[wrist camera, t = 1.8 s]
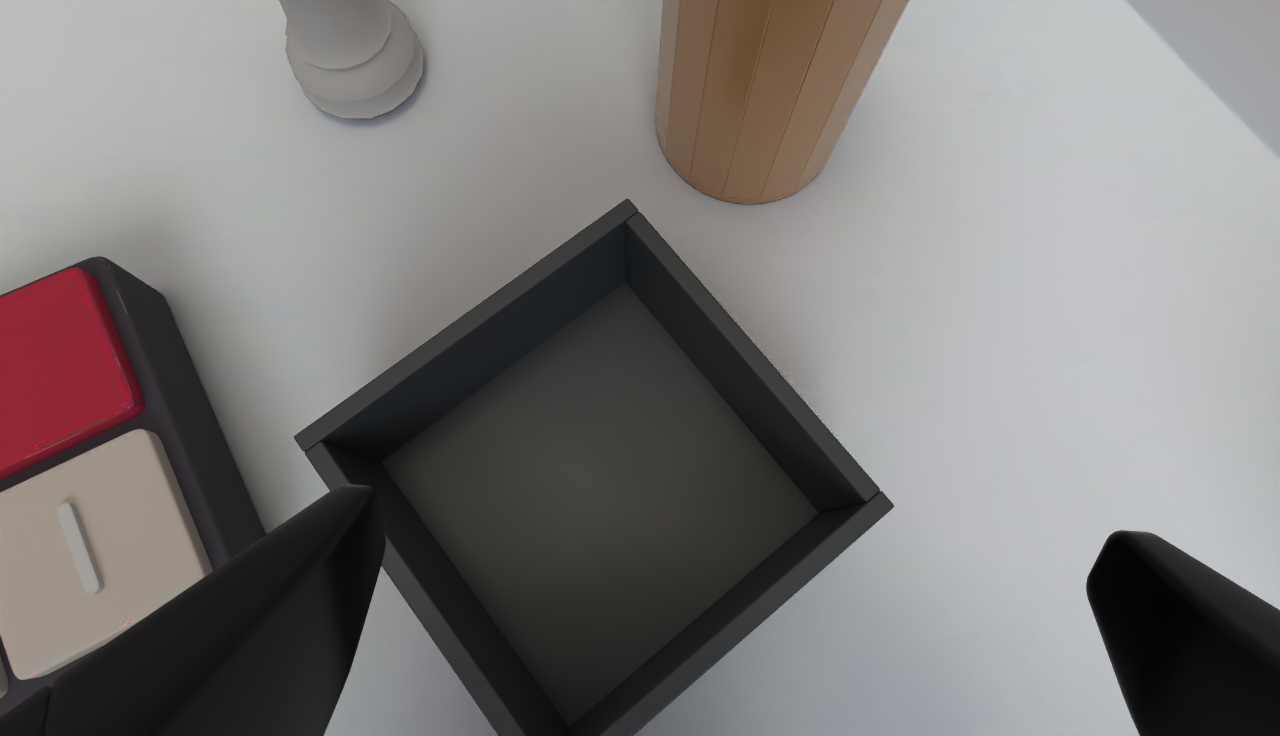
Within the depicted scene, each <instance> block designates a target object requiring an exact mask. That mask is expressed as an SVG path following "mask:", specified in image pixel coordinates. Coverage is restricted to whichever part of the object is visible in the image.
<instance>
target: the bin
mask: <svg viewBox="0 0 1280 736" xmlns="http://www.w3.org/2000/svg"><path fill="white" fill-rule="evenodd" d="M294 439H295V440H296V442H297V443H298V445H299V446H300V448H301V449H302V451H304V452H305V455H306V456H307V458H308V459H309V461H310V462H311V464H312V465H313V467H314V468H315V469H316V471H317V472H318V474H319V475H320V477H321V478H322V480H323V481H324V483H325V484H326V485H327V487H328V488H329V490H330V491H331V490H333V489H334V488H336V487H338V486H340V485H344V484H351V485H368V486H372V487H374V488H375V489H376V490H377V492H378V494H379V499H380V504H381V510H382V516H383V522H384V528H385V534H386V547H385V553H384V557H383V561H382V564H381V565H382V567H383V568H384V570H385V571H386V573H387V574H388V576H389V577H390V579H391V580H392V581H393V583H394V584H395V586H396V587H397V589H398V590H399V592H400V593H401V595H402V596H403V597H404V599H405V600H406V602H407V603H408V605H409V606H410V608H411V609H412V610H413V612H414V613H415V615H416V616H417V618H418V619H419V621H420V622H421V624H422V625H423V626H424V628H425V629H426V631H427V632H428V634H429V635H430V637H431V638H432V640H433V641H434V642H435V644H436V645H437V647H438V648H439V650H440V651H441V653H442V654H443V656H444V657H445V658H446V660H447V661H448V663H449V664H450V666H451V667H452V669H453V670H454V672H455V673H456V674H457V676H458V677H459V679H460V680H461V682H462V683H463V685H464V686H465V688H466V689H467V690H468V692H469V693H470V695H471V696H472V698H473V699H474V701H475V702H476V704H477V705H478V706H479V708H480V709H481V711H482V712H483V714H484V715H485V717H486V718H487V720H488V721H489V722H490V724H491V725H492V727H493V728H494V730H495V731H496V733H497V734H498V736H633V735H635V734H636V733H637V732H638V731H639V730H640V729H641V728H643V727H644V726H645V725H646V724H647V723H648V722H649V721H651V720H652V719H653V718H654V717H655V716H656V715H657V714H659V713H660V712H661V711H662V710H663V709H664V708H665V707H667V706H668V705H669V704H670V703H671V702H672V701H673V700H674V699H676V698H677V697H678V696H679V695H680V694H681V693H682V692H684V691H685V690H686V689H687V688H688V687H689V686H690V685H692V684H693V683H694V682H695V681H696V680H697V679H698V678H700V677H701V676H702V675H703V674H704V673H705V672H706V671H708V670H709V669H710V668H711V667H712V666H713V665H714V664H716V663H717V662H718V661H719V660H720V659H721V658H722V657H724V656H725V655H726V654H727V653H728V652H729V651H730V650H732V649H733V648H734V647H735V646H736V645H737V644H738V643H740V642H741V641H742V640H743V639H744V638H745V637H746V636H748V635H749V634H750V633H751V632H752V631H753V630H754V629H755V628H757V627H758V626H759V625H760V624H761V623H762V622H763V621H765V620H766V619H767V618H768V617H769V616H770V615H771V614H773V613H774V612H775V611H776V610H777V609H778V608H779V607H781V606H782V605H783V604H784V603H785V602H786V601H787V600H789V599H790V598H791V597H792V596H793V595H794V594H795V593H797V592H798V591H799V590H800V589H801V588H802V587H803V586H805V585H806V584H807V583H808V582H809V581H810V580H811V579H813V578H814V577H815V576H816V575H817V574H818V573H819V572H821V571H822V570H823V569H824V568H825V567H826V566H827V565H829V564H830V563H831V562H832V561H833V560H834V559H835V558H837V557H838V556H839V555H840V554H841V553H842V552H843V551H844V550H846V549H847V548H848V547H849V546H850V545H851V544H852V543H854V542H855V541H856V540H857V539H858V538H859V537H860V536H862V535H863V534H864V533H865V532H866V531H867V530H868V529H870V528H871V527H872V526H873V525H874V524H875V523H876V522H878V521H879V520H880V519H881V518H882V517H883V516H884V515H886V514H887V513H888V512H889V511H890V510H891V509H892V508H893V507H894V505H893V503H892V502H891V501H890V500H889V499H888V498H887V497H886V495H885V494H884V493H883V492H882V491H880V489H879V487H878V486H877V485H876V484H875V483H874V482H873V480H872V479H871V478H870V477H869V476H868V475H867V473H866V472H865V471H864V470H863V469H862V468H861V467H860V465H859V464H858V463H857V462H856V461H855V460H854V458H853V457H852V456H851V455H850V454H849V453H848V452H847V450H846V449H845V448H844V447H843V446H842V445H841V443H840V442H839V441H838V440H837V439H836V438H835V437H834V435H833V434H832V433H831V432H830V431H829V430H828V428H827V427H826V426H825V425H824V424H823V423H822V422H821V420H820V419H819V418H818V417H817V416H816V415H815V413H814V412H813V411H812V410H811V409H810V408H809V406H808V405H807V404H806V403H805V402H804V401H803V400H802V398H801V397H800V396H799V395H798V394H797V393H796V391H795V390H794V389H793V388H792V387H791V386H790V385H789V383H788V382H787V381H786V380H785V379H784V378H783V376H782V375H781V374H780V373H779V372H778V371H777V370H776V368H775V367H774V366H773V365H772V364H771V363H770V361H769V360H768V359H767V358H766V357H765V356H764V355H763V353H762V352H761V351H760V350H759V349H758V348H757V346H756V345H755V344H754V343H753V342H752V341H751V340H750V338H749V337H748V336H747V335H746V334H745V333H744V331H743V330H742V329H741V328H740V327H739V326H738V325H737V323H736V322H735V321H734V320H733V319H732V318H731V316H730V315H729V314H728V313H727V312H726V311H725V310H724V308H723V307H722V306H721V305H720V304H719V303H718V301H717V300H716V299H715V298H714V297H713V296H712V294H711V293H710V292H709V291H708V290H707V289H706V288H705V286H704V285H703V284H702V283H701V282H700V281H699V279H698V278H697V277H696V276H695V275H694V274H693V273H692V271H691V270H690V269H689V268H688V267H687V266H686V264H685V263H684V262H683V261H682V260H681V259H680V258H679V256H678V255H677V254H676V253H675V252H674V251H673V249H672V248H671V247H670V246H669V245H668V244H667V243H666V241H665V240H664V239H663V238H662V237H661V236H660V234H659V233H658V232H657V231H656V230H655V229H654V228H653V226H652V225H651V224H650V223H649V222H648V221H647V219H646V218H645V217H644V216H643V215H642V214H641V213H640V212H638V209H637V208H636V207H635V206H634V204H633V203H632V202H631V201H630V200H629V199H626V200H624V201H623V202H621V203H620V204H619V205H617V206H616V207H614V208H613V209H612V210H610V211H609V212H607V213H606V214H605V215H603V216H602V217H600V218H599V219H598V220H596V221H595V222H593V223H592V224H591V225H589V226H588V227H586V228H585V229H584V230H582V231H581V232H579V233H578V234H577V235H575V236H574V237H572V238H571V239H570V240H568V241H567V242H565V243H564V244H563V245H561V246H560V247H558V248H557V249H556V250H554V251H553V252H551V253H550V254H549V255H547V256H546V257H544V258H543V259H542V260H540V261H539V262H537V263H536V264H535V265H533V266H532V267H530V268H529V269H528V270H526V271H525V272H523V273H522V274H521V275H519V276H518V277H516V278H515V279H514V280H512V281H511V282H509V283H508V284H507V285H505V286H504V287H502V288H501V289H500V290H498V291H497V292H495V293H494V294H493V295H491V296H490V297H488V298H487V299H486V300H484V301H483V302H481V303H480V304H479V305H477V306H476V307H474V308H473V309H472V310H470V311H469V312H467V313H466V314H465V315H463V316H462V317H460V318H459V319H458V320H456V321H455V322H453V323H452V324H451V325H449V326H448V327H446V328H445V329H444V330H442V331H441V332H439V333H438V334H437V335H435V336H434V337H432V338H431V339H430V340H428V341H427V342H425V343H424V344H423V345H421V346H420V347H418V348H417V349H416V350H414V351H413V352H411V353H410V354H409V355H407V356H406V357H404V358H403V359H402V360H400V361H399V362H397V363H396V364H395V365H393V366H392V367H390V368H389V369H388V370H386V371H385V372H383V373H382V374H381V375H379V376H378V377H376V378H375V379H374V380H372V381H371V382H370V383H368V384H367V385H365V386H364V387H363V388H361V389H360V390H358V391H357V392H356V393H354V394H353V395H351V396H350V397H349V398H347V399H346V400H344V401H343V402H342V403H340V404H339V405H337V406H336V407H335V408H333V409H332V410H330V411H329V412H328V413H326V414H325V415H323V416H322V417H321V418H319V419H318V420H316V421H315V422H314V423H312V424H311V425H309V426H308V427H307V428H305V429H304V430H302V431H301V432H300V433H298V434H297V435H295V436H294Z"/></svg>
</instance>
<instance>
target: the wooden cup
mask: <svg viewBox="0 0 1280 736" xmlns="http://www.w3.org/2000/svg"><path fill="white" fill-rule="evenodd" d="M909 1H910V0H663V9H662V24H661V39H660V55H659V70H658V85H657V101H656V116H655V121H656V122H655V123H656V127H657V135H658V139H659V143H660V145H661V148H662V150H663V153H664V155H665V156H666V158H667V160H668V161H669V163H670V164H671V166H672V167H673V168H674V170H675V171H676V172H677V173H678V174H679V175H680V176H681V177H682V178H683V179H684V180H685V181H686V182H688V183H689V184H690V185H692V186H693V187H694V188H696V189H698V190H700V191H701V192H703V193H705V194H707V195H709V196H712V197H714V198H717V199H720V200H724V201H727V202H733V203H740V204H758V203H766V202H771V201H776V200H779V199H782V198H785V197H787V196H789V195H791V194H793V193H796V192H797V191H799V190H800V189H802V188H803V187H805V186H806V185H807V184H808V183H810V182H811V181H812V180H813V179H814V178H815V177H816V176H817V175H818V174H819V172H820V171H821V170H822V169H823V167H824V165H825V164H826V162H827V160H828V158H829V156H830V154H831V153H832V151H833V149H834V147H835V145H836V143H837V141H838V139H839V138H840V136H841V134H842V132H843V130H844V128H845V126H846V124H847V122H848V120H849V118H850V116H851V114H852V112H853V110H854V108H855V106H856V104H857V102H858V100H859V98H860V96H861V94H862V93H863V91H864V89H865V87H866V85H867V83H868V81H869V79H870V77H871V75H872V73H873V71H874V69H875V67H876V65H877V63H878V61H879V59H880V57H881V55H882V53H883V51H884V49H885V47H886V46H887V44H888V42H889V40H890V38H891V36H892V34H893V32H894V30H895V28H896V26H897V24H898V22H899V20H900V18H901V16H902V14H903V12H904V10H905V8H906V6H907V4H908V2H909Z"/></svg>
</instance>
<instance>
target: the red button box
mask: <svg viewBox="0 0 1280 736" xmlns="http://www.w3.org/2000/svg"><path fill="white" fill-rule="evenodd" d="M264 536H265V533H264V531H263V529H262V526H261V524H260V522H259V519H258V517H257V515H256V512H255V510H254V507H253V505H252V503H251V500H250V498H249V496H248V493H247V491H246V489H245V486H244V484H243V482H242V479H241V477H240V474H239V472H238V470H237V467H236V465H235V463H234V460H233V458H232V456H231V453H230V451H229V449H228V446H227V444H226V441H225V439H224V437H223V434H222V432H221V430H220V427H219V425H218V423H217V420H216V418H215V416H214V413H213V411H212V408H211V406H210V404H209V401H208V399H207V397H206V394H205V392H204V390H203V387H202V385H201V383H200V380H199V378H198V376H197V373H196V371H195V368H194V366H193V364H192V361H191V359H190V357H189V354H188V352H187V350H186V347H185V345H184V343H183V340H182V338H181V335H180V333H179V331H178V328H177V326H176V324H175V321H174V319H173V317H172V314H171V312H170V310H169V307H168V305H167V303H166V301H165V299H164V297H163V295H162V294H160V293H159V292H158V291H156V290H155V289H153V288H152V287H150V286H149V285H147V284H146V283H144V282H143V281H141V280H140V279H138V278H136V277H135V276H133V275H132V274H130V273H129V272H127V271H126V270H124V269H123V268H121V267H120V266H118V265H116V264H115V263H113V262H112V261H110V260H108V259H106V258H104V257H92V258H89V259H86V260H84V261H81V262H79V263H76V264H74V265H72V266H69V267H67V268H65V269H62V270H60V271H57V272H55V273H53V274H50V275H48V276H46V277H43V278H41V279H38V280H36V281H34V282H31V283H29V284H27V285H24V286H22V287H20V288H17V289H15V290H12V291H10V292H8V293H5V294H3V295H1V296H0V715H2V714H3V713H5V712H6V711H8V710H9V709H11V708H12V707H13V706H15V705H16V704H18V703H19V702H21V701H22V700H24V699H25V698H27V697H28V696H30V695H31V694H33V693H34V692H36V691H37V690H38V689H40V688H41V687H43V686H45V685H50V686H52V683H53V681H54V679H55V678H57V677H58V676H59V675H61V674H62V673H64V672H65V671H67V670H68V669H70V668H71V667H73V666H74V665H76V664H77V663H79V662H80V661H82V660H83V659H84V658H86V657H87V656H89V655H90V654H92V653H93V652H95V651H96V650H98V649H99V648H101V647H102V646H104V645H105V644H107V643H108V642H109V641H111V640H112V639H114V638H115V637H117V636H118V635H120V634H121V633H123V632H124V631H126V630H127V629H129V628H130V627H132V626H133V625H134V624H136V623H137V622H139V621H140V620H142V619H143V618H145V617H146V616H148V615H149V614H151V613H152V612H154V611H155V610H157V609H158V608H159V607H161V606H162V605H164V604H165V603H167V602H168V601H170V600H171V599H173V598H174V597H176V596H177V595H179V594H180V593H182V592H183V591H184V590H186V589H187V588H189V587H190V586H192V585H193V584H195V583H196V582H198V581H199V580H201V579H202V578H204V577H205V576H206V575H208V574H209V573H211V572H212V571H214V570H215V569H217V568H218V567H220V566H221V565H223V564H224V563H226V562H227V561H229V560H230V559H231V558H233V557H234V556H236V555H237V554H239V553H240V552H242V551H243V550H245V549H246V548H248V547H249V546H251V545H252V544H254V543H255V542H256V541H258V540H259V539H261V538H262V537H264Z"/></svg>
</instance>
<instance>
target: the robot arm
mask: <svg viewBox="0 0 1280 736" xmlns="http://www.w3.org/2000/svg"><path fill="white" fill-rule="evenodd" d="M385 547H386V534H385V528H384V522H383V516H382V510H381V504H380V499H379V494H378V492H377V490H376V489H375V488H374V487H372V486H368V485H351V484H344V485H340V486H338V487H336V488H334V489H333V490H331V491H330V492H329V493H327V494H326V495H324V496H323V497H321V498H320V499H318V500H317V501H315V502H314V503H312V504H311V505H309V506H308V507H306V508H305V509H304V510H302V511H301V512H299V513H298V514H296V515H295V516H293V517H292V518H290V519H289V520H287V521H286V522H284V523H283V524H281V525H280V526H279V527H277V528H276V529H274V530H273V531H271V532H270V533H268V534H267V535H265V536H264V537H262V538H261V539H259V540H258V541H256V542H255V543H254V544H252V545H251V546H249V547H248V548H246V549H245V550H243V551H242V552H240V553H239V554H237V555H236V556H234V557H233V558H231V559H230V560H229V561H227V562H226V563H224V564H223V565H221V566H220V567H218V568H217V569H215V570H214V571H212V572H211V573H209V574H208V575H206V576H205V577H204V578H202V579H201V580H199V581H198V582H196V583H195V584H193V585H192V586H190V587H189V588H187V589H186V590H184V591H183V592H182V593H180V594H179V595H177V596H176V597H174V598H173V599H171V600H170V601H168V602H167V603H165V604H164V605H162V606H161V607H159V608H158V609H157V610H155V611H154V612H152V613H151V614H149V615H148V616H146V617H145V618H143V619H142V620H140V621H139V622H137V623H136V624H134V625H133V626H132V627H130V628H129V629H127V630H126V631H124V632H123V633H121V634H120V635H118V636H117V637H115V638H114V639H112V640H111V641H109V642H108V643H107V644H105V645H104V646H102V647H101V648H99V649H98V650H96V651H95V652H93V653H92V654H90V655H89V656H87V657H86V658H84V659H83V660H82V661H80V662H79V663H77V664H76V665H74V666H73V667H71V668H70V669H68V670H67V671H65V672H64V673H62V674H61V675H59V676H58V677H57V678H55V679H54V681H53V683H52V686H50V685H45V686H43V687H41V688H40V689H38V690H37V691H36V692H34V693H33V694H31V695H30V696H28V697H27V698H25V699H24V700H22V701H21V702H19V703H18V704H16V705H15V706H13V707H12V708H11V709H9V710H8V711H6V712H5V713H3V714H2V715H0V736H324V733H325V731H326V729H327V726H328V724H329V721H330V719H331V717H332V714H333V712H334V709H335V707H336V705H337V702H338V700H339V697H340V695H341V693H342V690H343V688H344V685H345V682H346V680H347V677H348V675H349V672H350V669H351V666H352V663H353V660H354V657H355V653H356V650H357V647H358V643H359V640H360V636H361V633H362V630H363V626H364V623H365V619H366V616H367V612H368V609H369V605H370V602H371V599H372V595H373V592H374V588H375V585H376V581H377V578H378V574H379V571H380V568H381V564H382V561H383V557H384V553H385ZM1086 590H1087V596H1088V600H1089V603H1090V605H1091V608H1092V611H1093V614H1094V616H1095V619H1096V622H1097V625H1098V627H1099V630H1100V633H1101V636H1102V639H1103V641H1104V644H1105V647H1106V650H1107V652H1108V655H1109V658H1110V661H1111V663H1112V666H1113V669H1114V672H1115V675H1116V677H1117V680H1118V683H1119V686H1120V688H1121V691H1122V694H1123V697H1124V699H1125V702H1126V704H1127V707H1128V709H1129V712H1130V714H1131V717H1132V719H1133V721H1134V724H1135V726H1136V728H1137V730H1138V733H1139V735H1140V736H1280V610H1278V609H1277V608H1275V607H1274V606H1272V605H1270V604H1269V603H1267V602H1265V601H1264V600H1262V599H1260V598H1259V597H1257V596H1255V595H1254V594H1252V593H1251V592H1249V591H1247V590H1246V589H1244V588H1242V587H1241V586H1239V585H1237V584H1236V583H1234V582H1233V581H1231V580H1229V579H1228V578H1226V577H1224V576H1223V575H1221V574H1219V573H1218V572H1216V571H1214V570H1213V569H1211V568H1210V567H1208V566H1206V565H1205V564H1203V563H1201V562H1200V561H1198V560H1196V559H1195V558H1193V557H1192V556H1190V555H1188V554H1187V553H1185V552H1183V551H1182V550H1180V549H1178V548H1177V547H1175V546H1174V545H1172V544H1170V543H1169V542H1167V541H1165V540H1164V539H1162V538H1160V537H1159V536H1157V535H1155V534H1152V533H1149V532H1140V531H1123V530H1121V531H1116V532H1114V533H1113V534H1111V535H1110V536H1109V537H1108V539H1107V540H1106V542H1105V544H1104V546H1103V548H1102V550H1101V552H1100V554H1099V556H1098V558H1097V560H1096V562H1095V563H1094V565H1093V567H1092V569H1091V571H1090V573H1089V575H1088V578H1087V583H1086Z"/></svg>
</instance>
